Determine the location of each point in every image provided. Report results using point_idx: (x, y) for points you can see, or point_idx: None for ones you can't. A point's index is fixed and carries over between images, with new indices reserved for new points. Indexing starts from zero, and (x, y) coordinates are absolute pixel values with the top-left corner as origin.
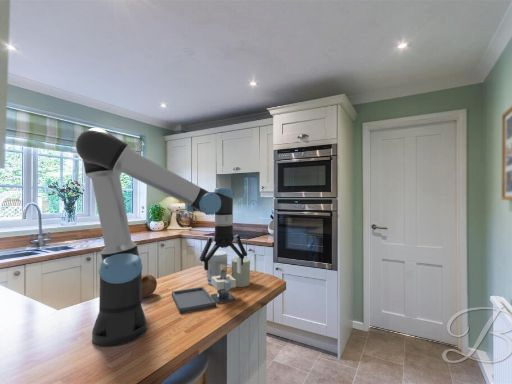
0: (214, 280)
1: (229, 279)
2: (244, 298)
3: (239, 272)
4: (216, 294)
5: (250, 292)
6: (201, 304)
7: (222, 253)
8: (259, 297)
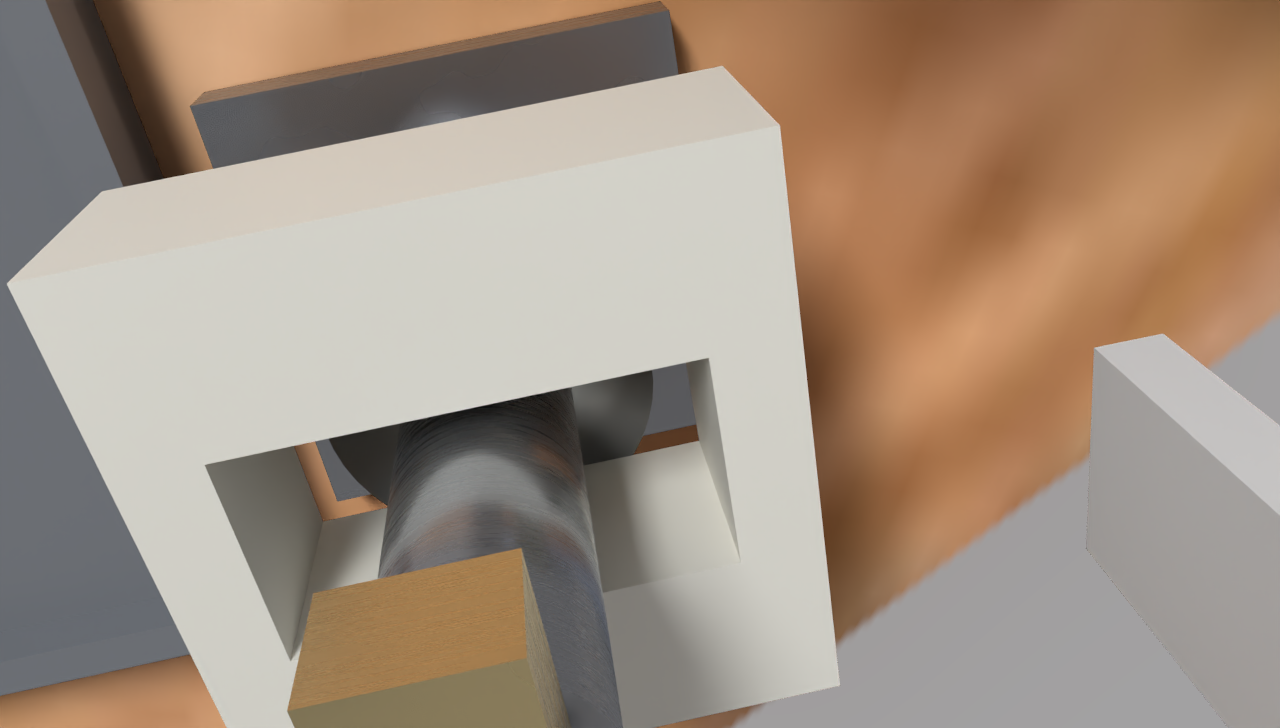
0: (181, 615)
1: (667, 645)
2: (913, 333)
3: (1113, 572)
4: (336, 140)
5: (1165, 42)
6: (28, 686)
7: None
8: (1190, 343)
